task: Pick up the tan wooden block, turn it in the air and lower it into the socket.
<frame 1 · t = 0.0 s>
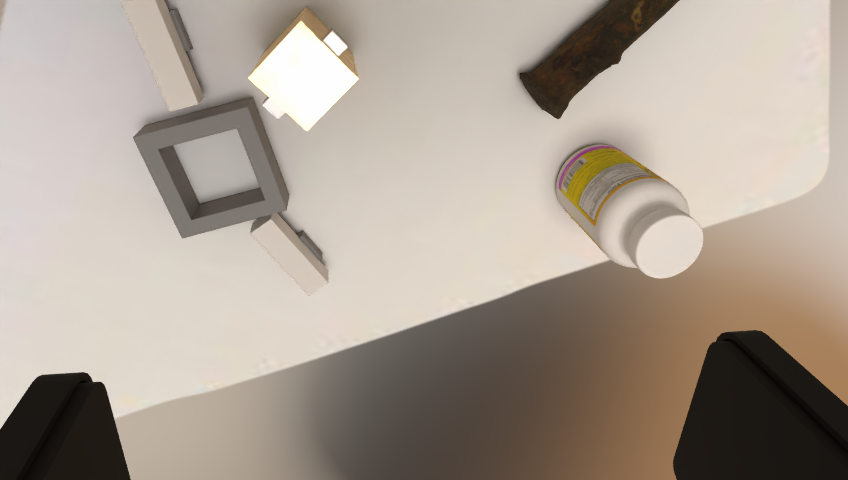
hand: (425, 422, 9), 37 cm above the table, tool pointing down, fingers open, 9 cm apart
supplement bottle: (590, 178, 49), on the table
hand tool: (619, 0, 43), on the table
tan wooden block: (308, 53, 41), on the table
socket: (220, 161, 44), on the table
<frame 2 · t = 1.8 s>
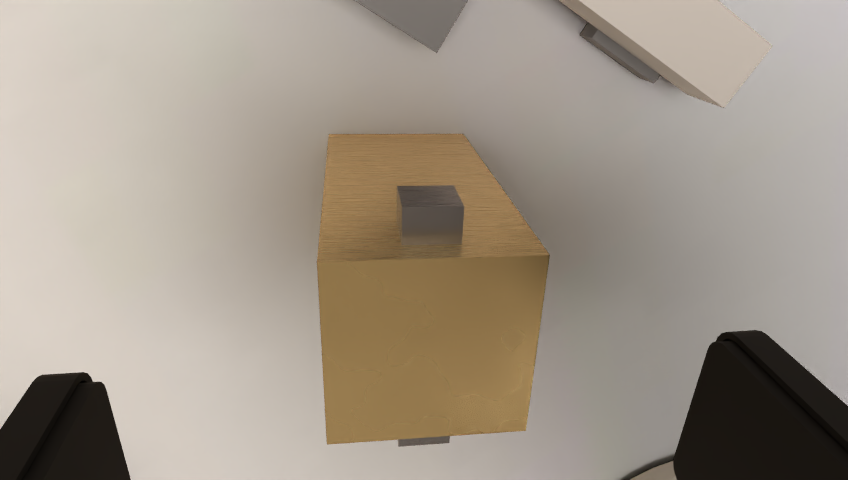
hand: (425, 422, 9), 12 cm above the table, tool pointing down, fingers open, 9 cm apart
tan wooden block: (396, 197, 20), on the table
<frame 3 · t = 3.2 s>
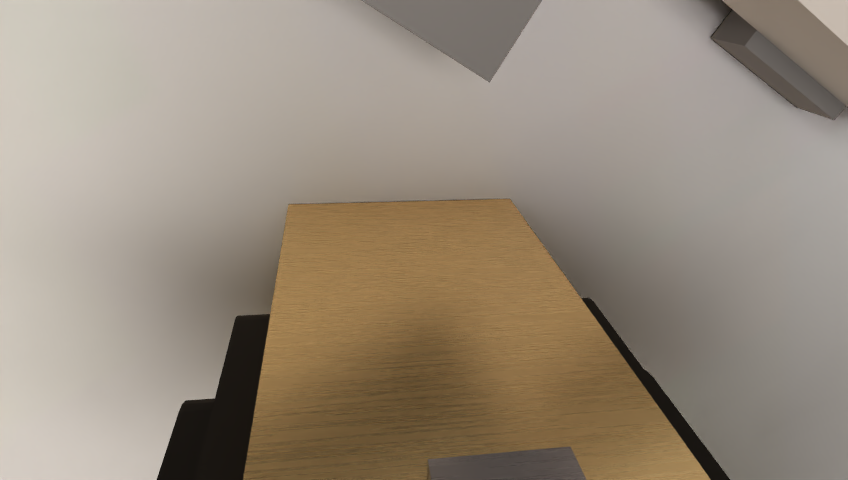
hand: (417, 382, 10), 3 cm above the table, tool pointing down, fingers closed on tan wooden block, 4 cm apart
tan wooden block: (400, 296, 12), on the table, touching gripper
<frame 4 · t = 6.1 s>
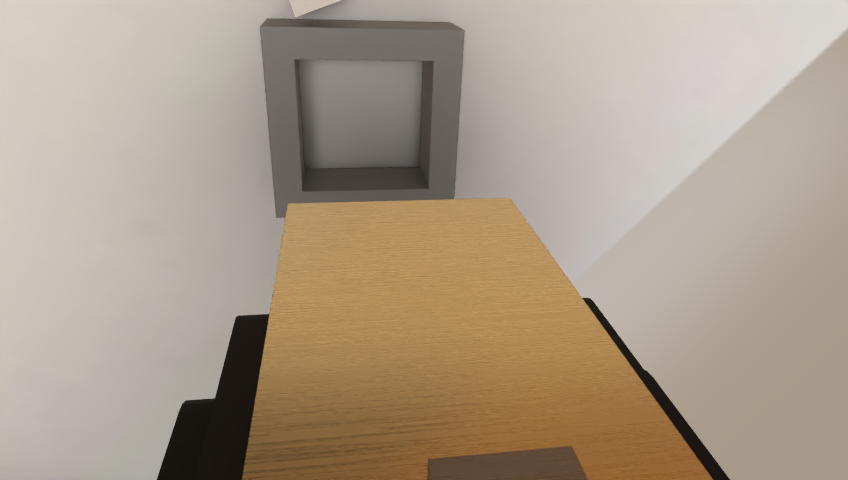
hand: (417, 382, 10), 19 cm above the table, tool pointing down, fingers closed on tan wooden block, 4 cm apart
tan wooden block: (400, 295, 12), point 17 cm above the table, touching gripper
socket: (362, 111, 27), on the table
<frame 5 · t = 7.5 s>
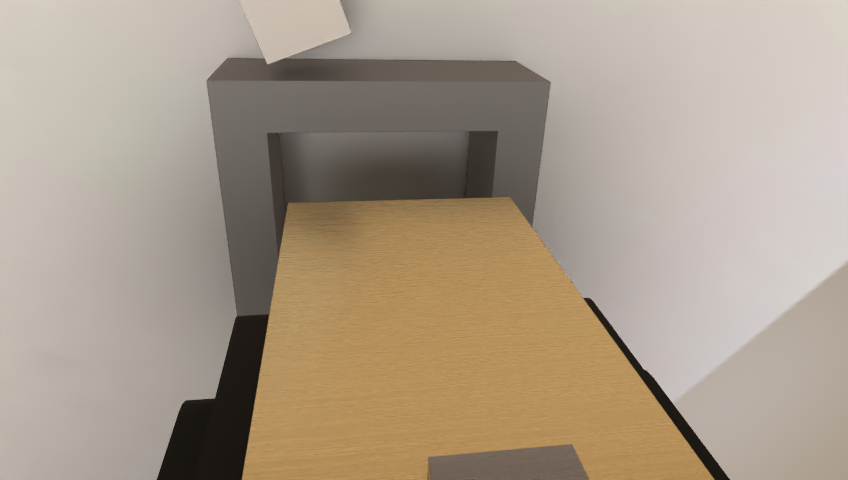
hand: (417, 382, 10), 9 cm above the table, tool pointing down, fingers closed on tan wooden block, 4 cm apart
tan wooden block: (400, 295, 12), point 6 cm above the table, touching gripper
socket: (376, 193, 18), on the table
when the fingers open (4 cm above the table, at t = 8.8 s): tan wooden block drops 1 cm, resting in socket.
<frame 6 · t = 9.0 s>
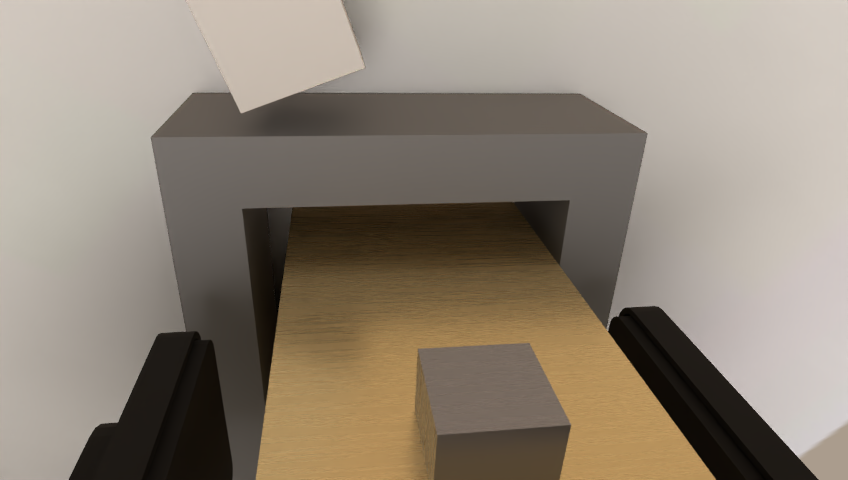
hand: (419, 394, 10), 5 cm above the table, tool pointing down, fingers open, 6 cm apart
tan wooden block: (395, 264, 14), resting in socket
socket: (393, 263, 14), on the table
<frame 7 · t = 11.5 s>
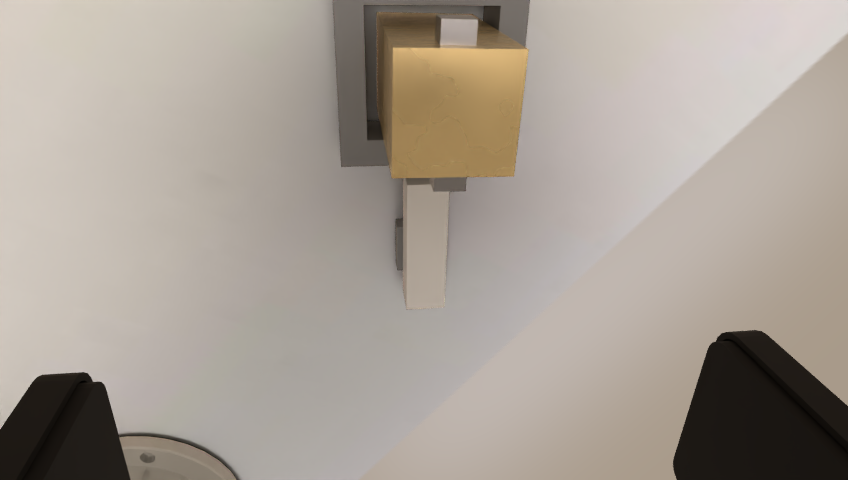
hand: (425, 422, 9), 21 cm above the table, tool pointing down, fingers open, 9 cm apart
tan wooden block: (423, 62, 27), resting in socket
socket: (422, 61, 27), on the table
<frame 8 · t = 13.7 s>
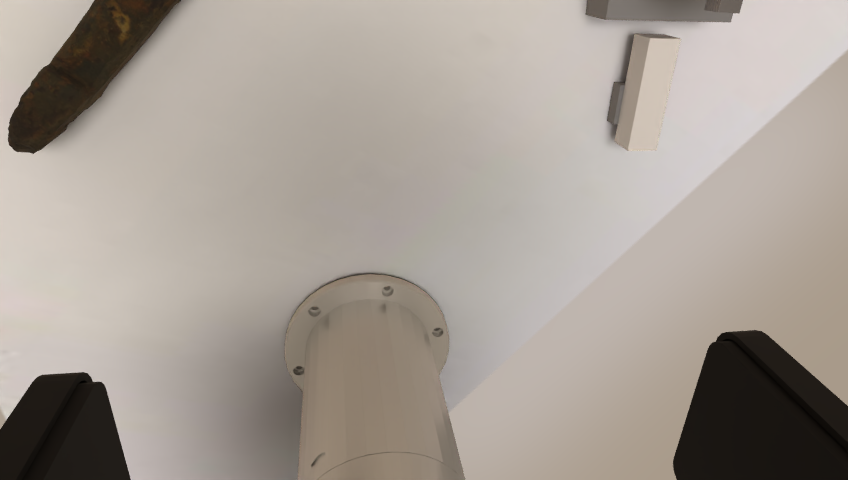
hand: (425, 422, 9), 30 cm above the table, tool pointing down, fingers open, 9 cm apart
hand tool: (139, 27, 34), on the table
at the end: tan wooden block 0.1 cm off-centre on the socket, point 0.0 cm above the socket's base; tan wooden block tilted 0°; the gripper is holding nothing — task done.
